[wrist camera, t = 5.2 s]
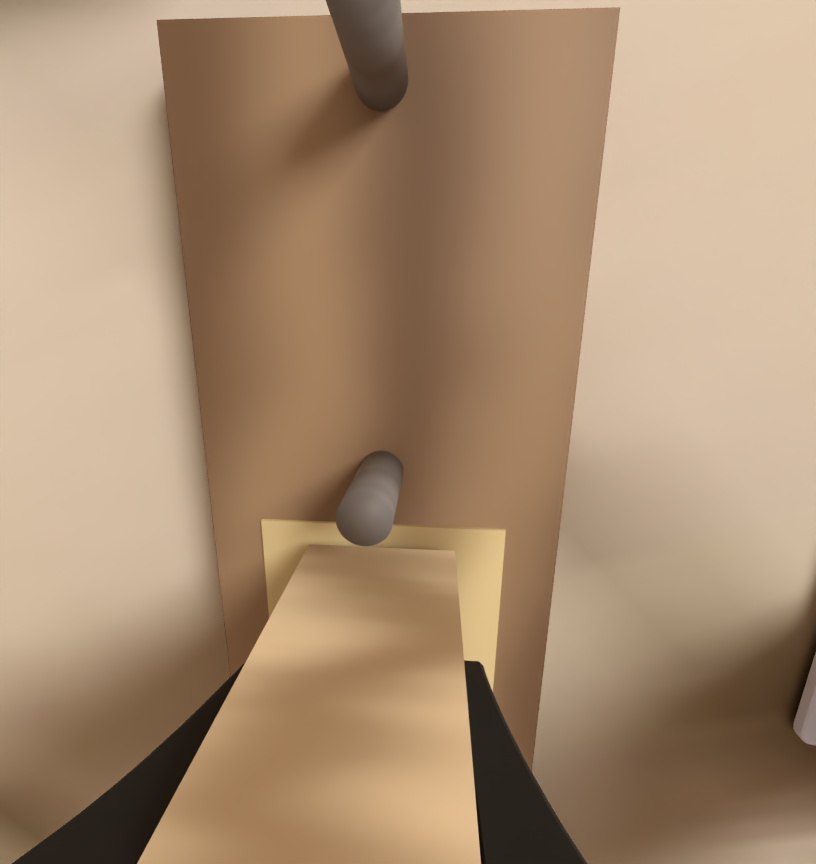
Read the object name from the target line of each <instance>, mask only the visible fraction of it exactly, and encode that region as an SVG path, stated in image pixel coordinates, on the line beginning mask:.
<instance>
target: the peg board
mask: <svg viewBox="0 0 816 864" xmlns="http://www.w3.org/2000/svg"><path fill="white" fill-rule="evenodd" d="M326 2H327V5H328V8H329V11H330V14H331V15H323V16H286V17H249V18H212V19H175V20H157V27H158V36H159V45H160V54H161V63H162V72H163V81H164V90H165V98H166V107H167V116H168V125H169V134H170V143H171V152H172V161H173V170H174V178H175V187H176V196H177V205H178V214H179V223H180V232H181V241H182V250H183V259H184V267H185V276H186V285H187V294H188V303H189V312H190V321H191V330H192V339H193V348H194V356H195V365H196V374H197V383H198V392H199V401H200V410H201V419H202V428H203V436H204V445H205V454H206V463H207V472H208V481H209V490H210V499H211V508H212V517H213V525H214V534H215V543H216V552H217V561H218V570H219V579H220V588H221V597H222V605H223V614H224V623H225V632H226V641H227V650H228V659H229V668H230V677H231V676H232V675H233V674H234V673H235V672H236V671H237V670H238V669H239V668H240V667H241V666H242V665H243V664H244V663H245V662H246V660H247V659H248V657H249V655H250V653H251V651H252V649H253V648H254V646H255V644H256V642H257V640H258V638H259V636H260V635H261V633H262V631H263V629H264V627H265V625H266V623H267V622H268V620H269V618H270V616H271V614H272V612H273V610H274V609H275V607H276V605H277V603H278V601H279V599H280V597H281V596H282V594H283V592H284V590H285V588H286V586H287V584H288V583H289V581H290V579H291V577H292V575H293V573H294V572H295V570H296V568H297V566H298V564H299V562H300V560H301V559H302V557H303V555H304V553H305V551H306V549H307V547H308V546H309V544H314V545H336V546H357V547H379V548H401V549H423V550H445V551H455V558H456V570H457V582H458V594H459V606H460V618H461V630H462V642H463V654H464V660H466V661H479V662H480V663H481V664H482V665H483V666H484V670H485V673H486V676H487V678H488V681H489V684H490V686H491V689H492V691H493V694H494V696H495V699H496V701H497V703H498V705H499V708H500V710H501V712H502V714H503V717H504V719H505V721H506V723H507V725H508V727H509V729H510V731H511V733H512V735H513V737H514V739H515V741H516V743H517V745H518V747H519V749H520V751H521V753H522V755H523V757H524V759H525V761H526V763H527V765H528V766H529V768H530V770H531V772H532V763H533V754H534V746H535V737H536V728H537V720H538V711H539V702H540V694H541V685H542V677H543V668H544V659H545V651H546V642H547V633H548V625H549V616H550V608H551V599H552V590H553V582H554V573H555V564H556V556H557V547H558V539H559V530H560V521H561V513H562V504H563V495H564V487H565V478H566V470H567V461H568V452H569V444H570V435H571V426H572V418H573V409H574V401H575V392H576V383H577V375H578V366H579V357H580V349H581V340H582V332H583V323H584V314H585V306H586V297H587V288H588V280H589V271H590V263H591V254H592V245H593V237H594V228H595V219H596V211H597V202H598V194H599V185H600V176H601V168H602V159H603V150H604V142H605V133H606V125H607V116H608V107H609V99H610V90H611V81H612V73H613V64H614V56H615V47H616V38H617V30H618V21H619V12H620V8H583V9H546V10H509V11H471V12H434V13H401V4H400V0H326Z"/></svg>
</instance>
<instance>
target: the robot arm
mask: <svg viewBox="0 0 816 864" xmlns="http://www.w3.org/2000/svg"><path fill="white" fill-rule="evenodd" d="M246 661H247V660H246ZM244 664H245V663H244ZM244 664H243V665H242V666H241V667H240V668H239V669H238V670H237V671H236V672H235V673H234V674H233V675H232V676H231V677H230V678H229V679H228V680H227V681H226V682H225V683H224V684H223V685H222V686H221V687H220V688H219V689H218V690H217V691H216V692H215V693H214V694H213V695H212V696H211V697H210V698H209V699H208V700H207V701H206V702H205V703H204V704H203V705H202V706H201V707H200V708H199V709H198V710H197V711H196V712H195V713H194V714H193V715H192V716H191V717H190V718H189V719H188V720H187V721H186V722H185V723H184V724H183V725H181V726H180V727H179V728H178V729H177V730H176V731H175V732H174V733H173V734H172V735H171V736H170V737H169V738H167V739H166V740H165V741H164V742H163V743H162V744H161V745H160V746H159V747H157V748H156V749H155V750H154V751H153V752H152V753H151V754H150V755H149V756H148V757H146V758H145V759H144V760H143V761H142V762H141V763H140V764H139V765H138V766H136V767H135V768H134V769H133V770H132V771H131V772H129V773H128V774H127V775H126V776H125V777H124V778H122V779H121V780H120V781H119V782H118V783H116V784H115V785H114V786H113V787H112V788H110V789H109V790H108V791H107V792H106V793H104V794H103V795H102V796H101V797H99V798H98V799H97V800H96V801H94V802H93V803H92V804H91V805H90V806H88V807H87V808H86V809H85V810H83V811H82V812H81V813H80V814H78V815H77V816H76V817H74V818H73V819H72V820H70V821H69V822H68V823H66V824H65V825H64V826H62V827H61V828H60V829H58V830H57V831H56V832H54V833H53V834H52V835H50V836H49V837H48V838H46V839H45V840H44V841H42V842H41V843H39V844H38V845H37V846H35V847H34V848H33V849H31V850H30V851H29V852H27V853H26V854H24V855H23V856H22V857H20V858H19V859H18V860H16V861H15V862H14V863H12V864H137V863H138V861H139V859H140V857H141V855H142V854H143V852H144V850H145V848H146V846H147V844H148V842H149V841H150V839H151V837H152V835H153V833H154V831H155V829H156V828H157V826H158V824H159V822H160V820H161V818H162V816H163V815H164V813H165V811H166V809H167V807H168V805H169V804H170V802H171V800H172V798H173V796H174V794H175V792H176V791H177V789H178V787H179V785H180V783H181V781H182V779H183V778H184V776H185V774H186V772H187V770H188V768H189V766H190V765H191V763H192V761H193V759H194V757H195V755H196V753H197V752H198V750H199V748H200V746H201V744H202V742H203V740H204V739H205V737H206V735H207V733H208V731H209V729H210V727H211V726H212V724H213V722H214V720H215V718H216V716H217V714H218V713H219V711H220V709H221V707H222V705H223V703H224V701H225V700H226V698H227V696H228V694H229V692H230V690H231V688H232V687H233V685H234V683H235V681H236V679H237V677H238V675H239V674H240V672H241V670H242V668H243V666H244ZM464 666H465V678H466V690H467V702H468V714H469V726H470V738H471V750H472V762H473V774H474V786H475V798H476V810H477V822H478V834H479V846H480V858H481V864H587V863H586V861H585V860H584V858H583V857H582V855H581V853H580V852H579V850H578V849H577V847H576V846H575V844H574V843H573V841H572V839H571V838H570V836H569V835H568V833H567V832H566V830H565V828H564V827H563V825H562V824H561V822H560V820H559V819H558V817H557V815H556V814H555V812H554V810H553V809H552V807H551V805H550V804H549V802H548V800H547V799H546V797H545V795H544V793H543V791H542V790H541V788H540V786H539V784H538V783H537V781H536V779H535V777H534V776H533V774H532V772H531V770H530V768H529V766H528V765H527V763H526V761H525V759H524V757H523V755H522V753H521V751H520V749H519V747H518V745H517V743H516V741H515V739H514V737H513V735H512V733H511V731H510V729H509V727H508V725H507V723H506V721H505V719H504V717H503V714H502V712H501V710H500V708H499V705H498V703H497V701H496V699H495V696H494V694H493V691H492V689H491V686H490V684H489V681H488V678H487V676H486V673H485V670H484V666H483V665H482V664H481V663H480V662H479V661H466V660H464ZM793 729H794V731H795V733H796V734H797V735H798V736H799V737H800V738H801V739H802V741H804V742H805V743H807V744H810V745H816V653H815V656H814V659H813V662H812V666H811V669H810V672H809V675H808V678H807V682H806V685H805V688H804V691H803V695H802V698H801V701H800V704H799V707H798V711H797V714H796V717H795V720H794V724H793Z"/></svg>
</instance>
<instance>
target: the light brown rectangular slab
mask: <svg viewBox="0 0 816 864" xmlns="http://www.w3.org/2000/svg"><path fill="white" fill-rule="evenodd" d="M137 864H481V858H480V846H479V834H478V822H477V810H476V798H475V786H474V774H473V762H472V750H471V738H470V726H469V714H468V702H467V690H466V678H465V666H464V654H463V642H462V630H461V618H460V606H459V594H458V582H457V570H456V558H455V551H445V550H423V549H401V548H379V547H357V546H336V545H314V544H309V546H308V547H307V549H306V551H305V553H304V555H303V557H302V559H301V560H300V562H299V564H298V566H297V568H296V570H295V572H294V573H293V575H292V577H291V579H290V581H289V583H288V584H287V586H286V588H285V590H284V592H283V594H282V596H281V597H280V599H279V601H278V603H277V605H276V607H275V609H274V610H273V612H272V614H271V616H270V618H269V620H268V622H267V623H266V625H265V627H264V629H263V631H262V633H261V635H260V636H259V638H258V640H257V642H256V644H255V646H254V648H253V649H252V651H251V653H250V655H249V657H248V659H247V661H246V662H245V664H244V666H243V668H242V670H241V672H240V674H239V675H238V677H237V679H236V681H235V683H234V685H233V687H232V688H231V690H230V692H229V694H228V696H227V698H226V700H225V701H224V703H223V705H222V707H221V709H220V711H219V713H218V714H217V716H216V718H215V720H214V722H213V724H212V726H211V727H210V729H209V731H208V733H207V735H206V737H205V739H204V740H203V742H202V744H201V746H200V748H199V750H198V752H197V753H196V755H195V757H194V759H193V761H192V763H191V765H190V766H189V768H188V770H187V772H186V774H185V776H184V778H183V779H182V781H181V783H180V785H179V787H178V789H177V791H176V792H175V794H174V796H173V798H172V800H171V802H170V804H169V805H168V807H167V809H166V811H165V813H164V815H163V816H162V818H161V820H160V822H159V824H158V826H157V828H156V829H155V831H154V833H153V835H152V837H151V839H150V841H149V842H148V844H147V846H146V848H145V850H144V852H143V854H142V855H141V857H140V859H139V861H138V863H137Z"/></svg>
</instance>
